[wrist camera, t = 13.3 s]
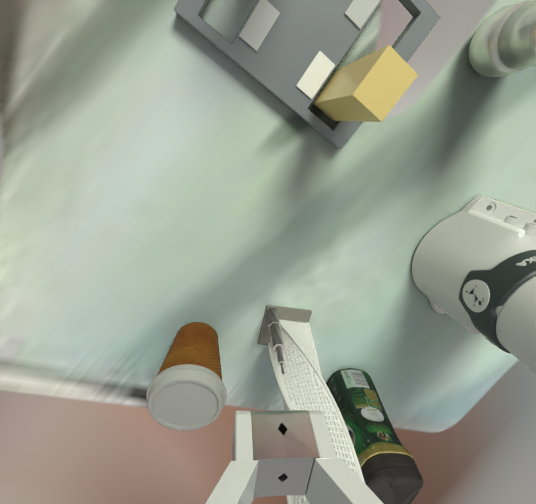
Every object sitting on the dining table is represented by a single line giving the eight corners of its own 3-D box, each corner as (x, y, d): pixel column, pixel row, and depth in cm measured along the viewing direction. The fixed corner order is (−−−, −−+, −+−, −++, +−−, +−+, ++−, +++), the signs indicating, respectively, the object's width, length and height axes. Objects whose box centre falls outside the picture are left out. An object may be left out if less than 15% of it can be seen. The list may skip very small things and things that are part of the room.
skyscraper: (319, 311, 47) (420, 541, 21) (306, 352, 50) (380, 596, 24) (266, 305, 45) (305, 543, 20) (256, 347, 48) (279, 601, 23)
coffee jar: (355, 407, 56) (406, 531, 39) (315, 403, 55) (351, 529, 38) (375, 368, 53) (441, 486, 36) (333, 362, 51) (381, 482, 34)
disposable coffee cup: (214, 304, 44) (208, 366, 34) (237, 351, 48) (237, 419, 37) (154, 324, 45) (128, 391, 34) (181, 369, 49) (165, 441, 38)
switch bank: (269, -167, 26) (271, -185, 25) (432, 21, 33) (441, 16, 31) (176, 14, 30) (173, 8, 29) (336, 147, 37) (341, 149, 36)
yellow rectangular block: (335, 71, 34) (389, 44, 22) (355, 90, 35) (418, 75, 23) (312, 103, 35) (352, 94, 23) (333, 121, 36) (381, 121, 24)
